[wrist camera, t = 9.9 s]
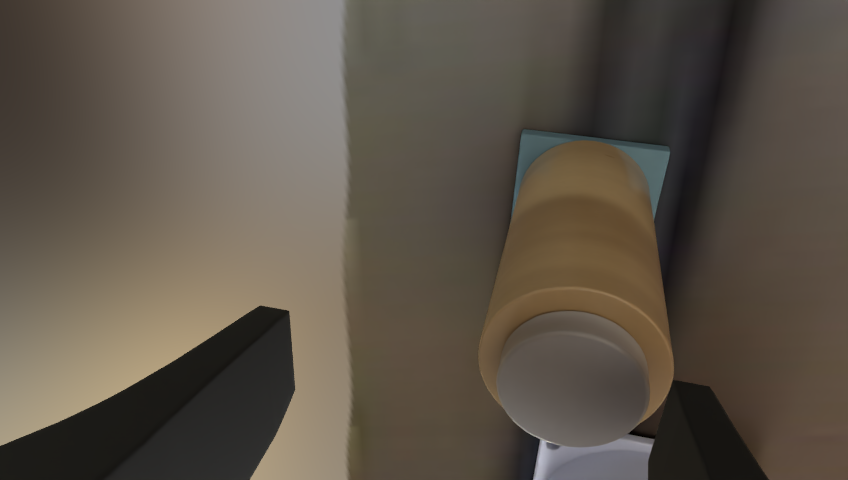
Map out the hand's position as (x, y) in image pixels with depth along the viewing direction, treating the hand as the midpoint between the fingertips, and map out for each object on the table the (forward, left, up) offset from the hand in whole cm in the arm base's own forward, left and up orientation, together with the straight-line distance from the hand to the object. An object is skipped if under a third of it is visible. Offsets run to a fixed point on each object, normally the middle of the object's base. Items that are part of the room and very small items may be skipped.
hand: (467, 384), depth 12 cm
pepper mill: (-1, -2, -10) cm, 10 cm away
